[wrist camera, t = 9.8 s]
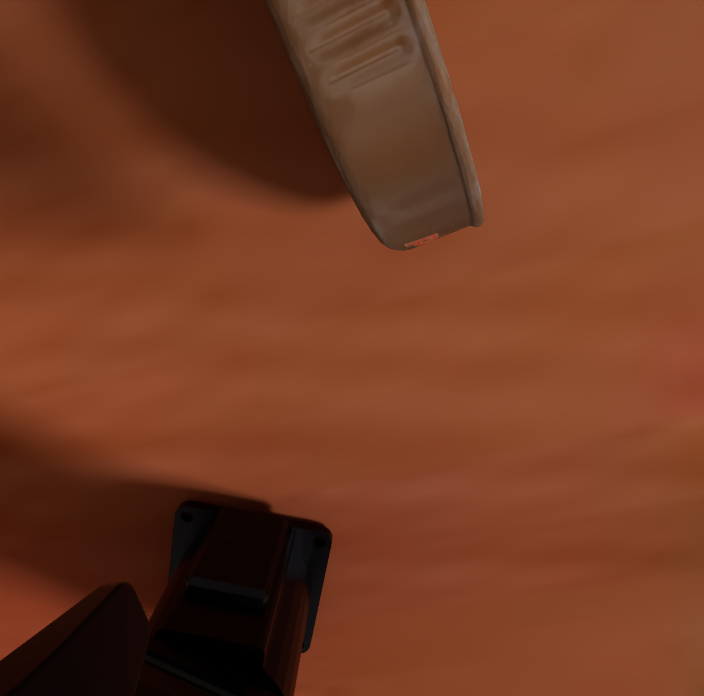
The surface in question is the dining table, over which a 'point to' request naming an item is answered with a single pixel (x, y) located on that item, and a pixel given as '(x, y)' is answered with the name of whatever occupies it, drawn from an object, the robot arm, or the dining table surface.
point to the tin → (384, 113)
